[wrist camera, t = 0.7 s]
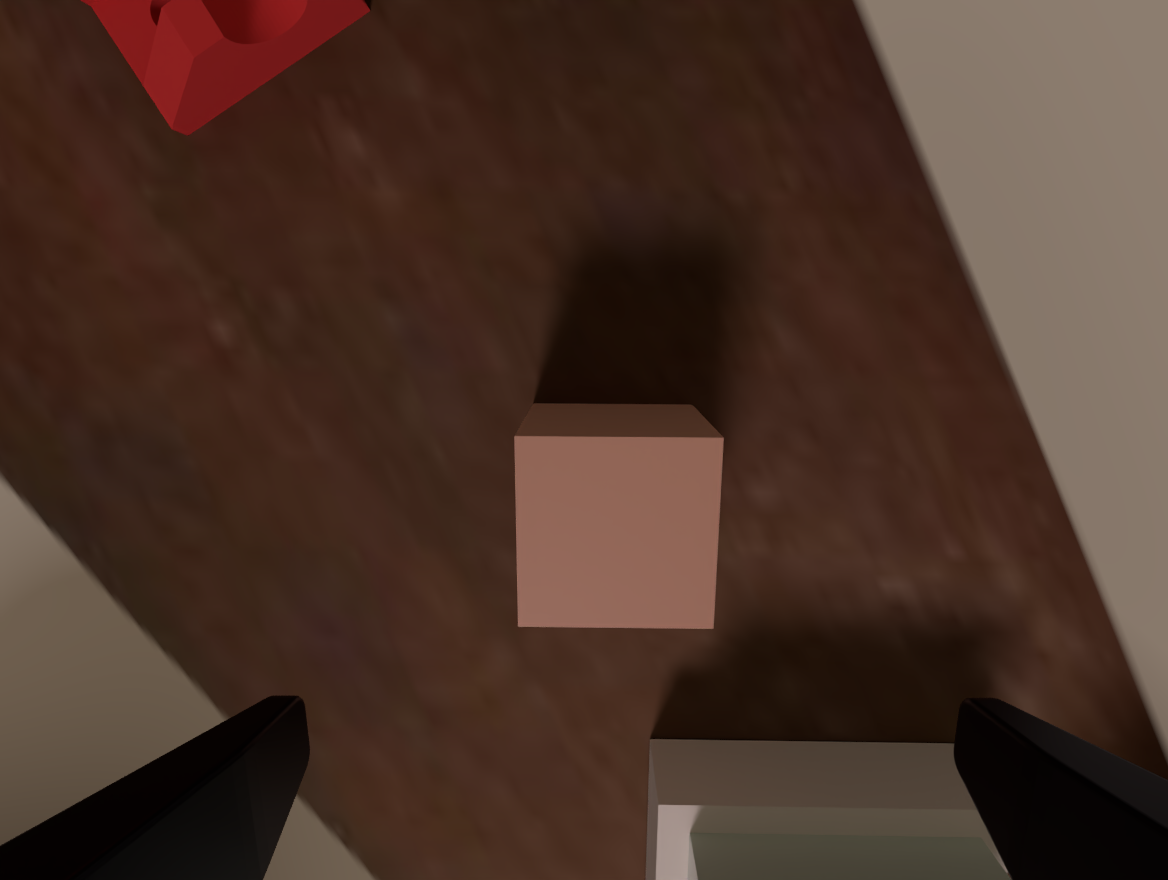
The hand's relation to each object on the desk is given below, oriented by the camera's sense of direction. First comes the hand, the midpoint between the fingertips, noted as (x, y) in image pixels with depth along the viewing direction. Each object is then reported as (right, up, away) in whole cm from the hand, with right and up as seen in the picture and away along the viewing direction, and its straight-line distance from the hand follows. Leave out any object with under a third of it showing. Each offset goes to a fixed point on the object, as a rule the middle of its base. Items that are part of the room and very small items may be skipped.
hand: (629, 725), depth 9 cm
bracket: (-11, +16, +10) cm, 22 cm away
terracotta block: (0, +3, +12) cm, 12 cm away
